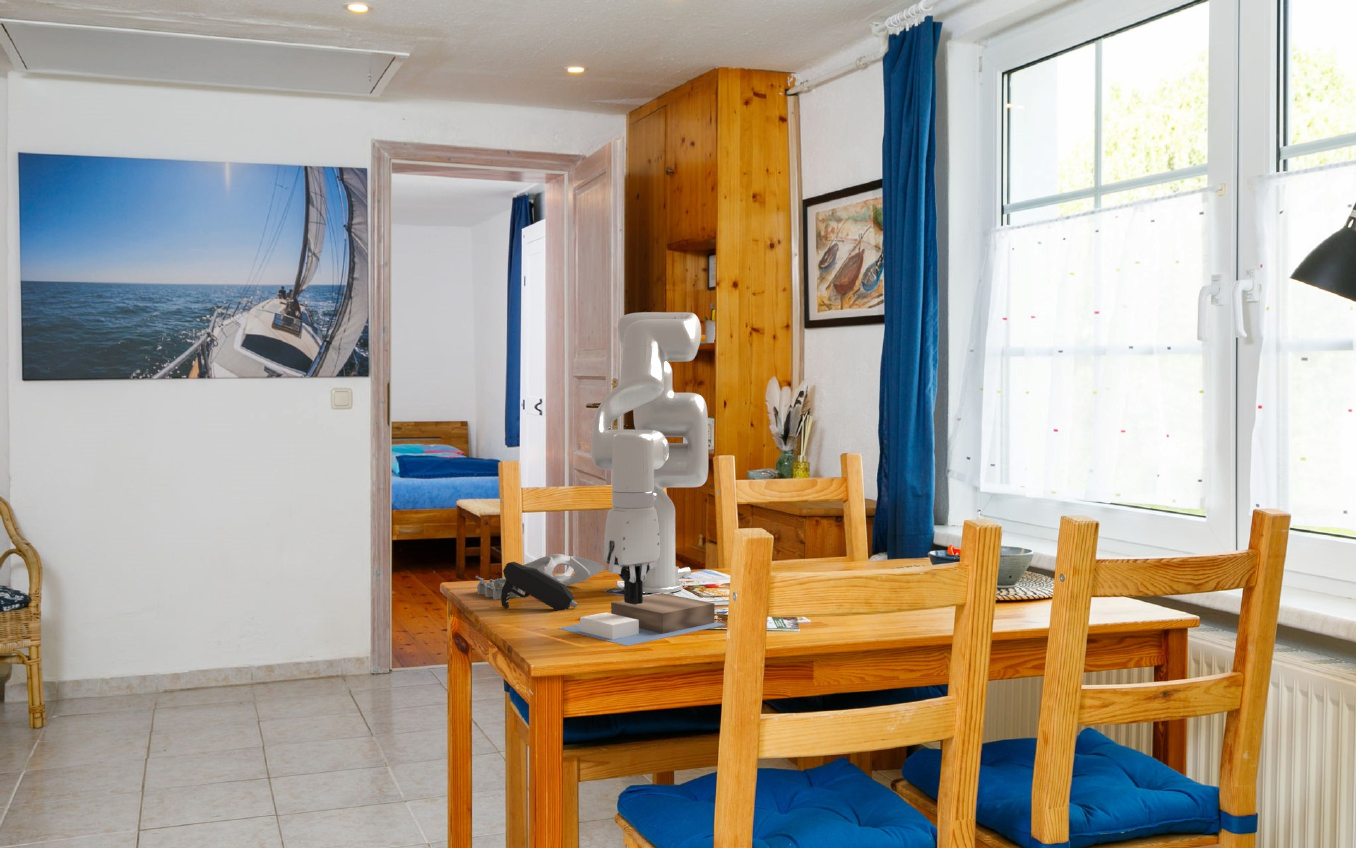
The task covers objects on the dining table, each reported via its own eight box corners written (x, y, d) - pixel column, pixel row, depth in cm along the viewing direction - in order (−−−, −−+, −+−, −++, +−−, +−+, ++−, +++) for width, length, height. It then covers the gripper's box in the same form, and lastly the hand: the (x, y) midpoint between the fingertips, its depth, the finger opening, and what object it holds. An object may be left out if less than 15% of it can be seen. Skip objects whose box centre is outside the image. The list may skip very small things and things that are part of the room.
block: (662, 611, 215) (662, 593, 215) (714, 622, 205) (714, 603, 205) (611, 621, 206) (611, 602, 206) (662, 633, 196) (662, 613, 196)
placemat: (655, 611, 217) (655, 609, 217) (726, 626, 204) (726, 624, 204) (557, 630, 201) (557, 628, 201) (627, 648, 187) (627, 645, 187)
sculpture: (558, 595, 236) (558, 565, 236) (500, 583, 250) (500, 555, 249) (619, 584, 248) (619, 556, 248) (561, 574, 262) (561, 547, 262)
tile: (579, 617, 198) (580, 631, 198) (612, 625, 192) (612, 639, 192) (606, 612, 202) (606, 626, 203) (638, 619, 196) (638, 634, 196)
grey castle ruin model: (473, 594, 238) (473, 575, 238) (505, 590, 242) (505, 571, 242) (495, 602, 229) (495, 582, 229) (528, 597, 233) (527, 578, 233)
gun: (557, 640, 218) (580, 595, 217) (487, 599, 221) (509, 555, 220) (561, 636, 221) (584, 593, 220) (492, 596, 224) (514, 553, 222)
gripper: (649, 497, 208) (649, 595, 208) (587, 502, 197) (587, 606, 198) (677, 499, 202) (677, 600, 203) (615, 506, 192) (615, 612, 193)
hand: (633, 602), depth 201 cm, fingers closed
